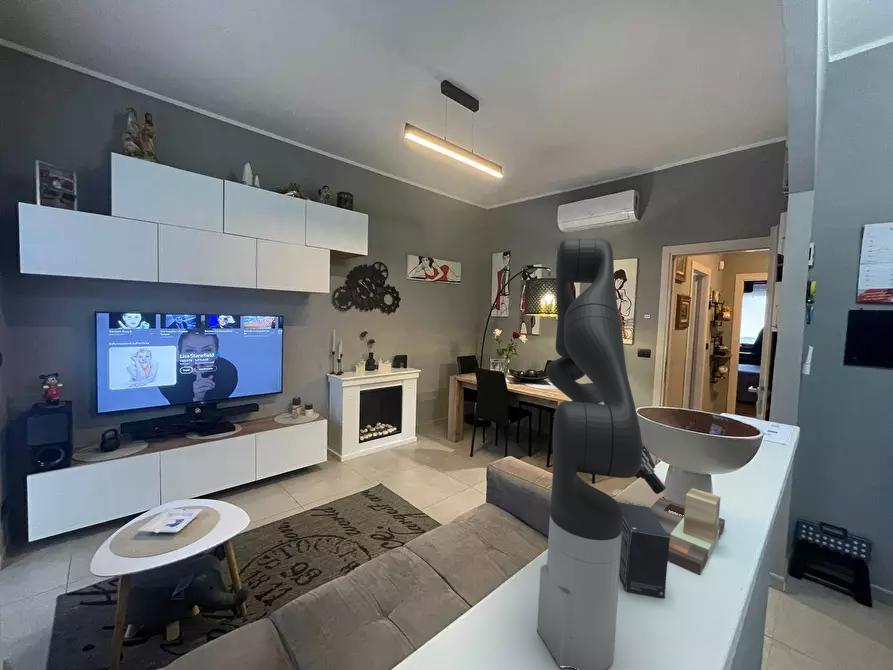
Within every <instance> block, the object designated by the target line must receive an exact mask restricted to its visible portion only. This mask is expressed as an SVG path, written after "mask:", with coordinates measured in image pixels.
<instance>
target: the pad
mask: <svg viewBox="0 0 893 670" xmlns="http://www.w3.org/2000/svg"><path fill="white" fill-rule="evenodd" d="M683 528H684V518H683V519H682V520H681V521H680V523H679V524H678V525H677V526H676V528H675V529H674V530H673V531H672V533H671V534H670V543H672V544H675V545H677V546H680V547H682V548H684V549H687V550H689V549H690V548H691V546H692V545H693V544H696V545H698V546H701V547H703V548H706V549H708V559H709V558H710V557H711V555H712V553H713V550H714V549H715V547H716V545H717V544H718V541H719V540H718V538H719V530H718V535H717V537H716V539H715V541H714V543H713V544H710V543H708V542H705V541H703V540H700V539H697V538H695V537H692V536H690V535H687V534H684V533H683ZM719 539H720V538H719Z"/></svg>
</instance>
